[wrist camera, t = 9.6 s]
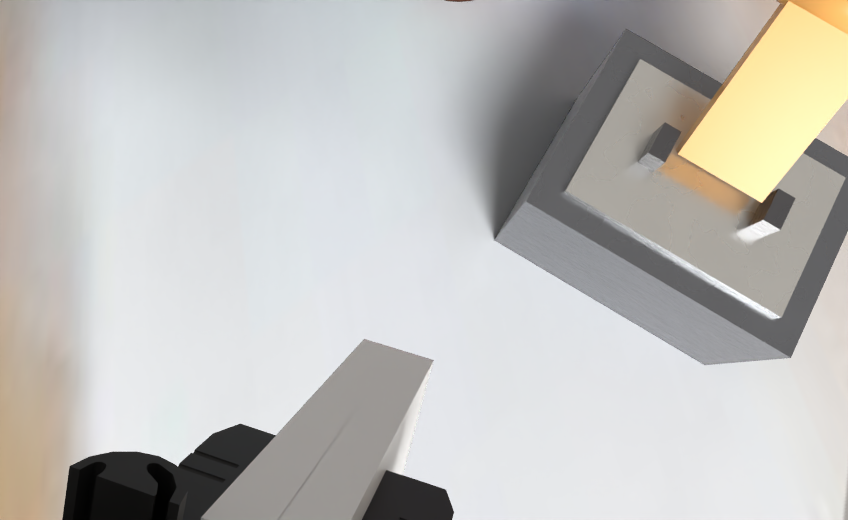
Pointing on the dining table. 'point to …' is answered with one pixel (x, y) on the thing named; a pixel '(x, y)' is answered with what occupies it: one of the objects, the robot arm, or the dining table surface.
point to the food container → (458, 0)
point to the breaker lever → (775, 97)
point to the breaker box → (677, 217)
